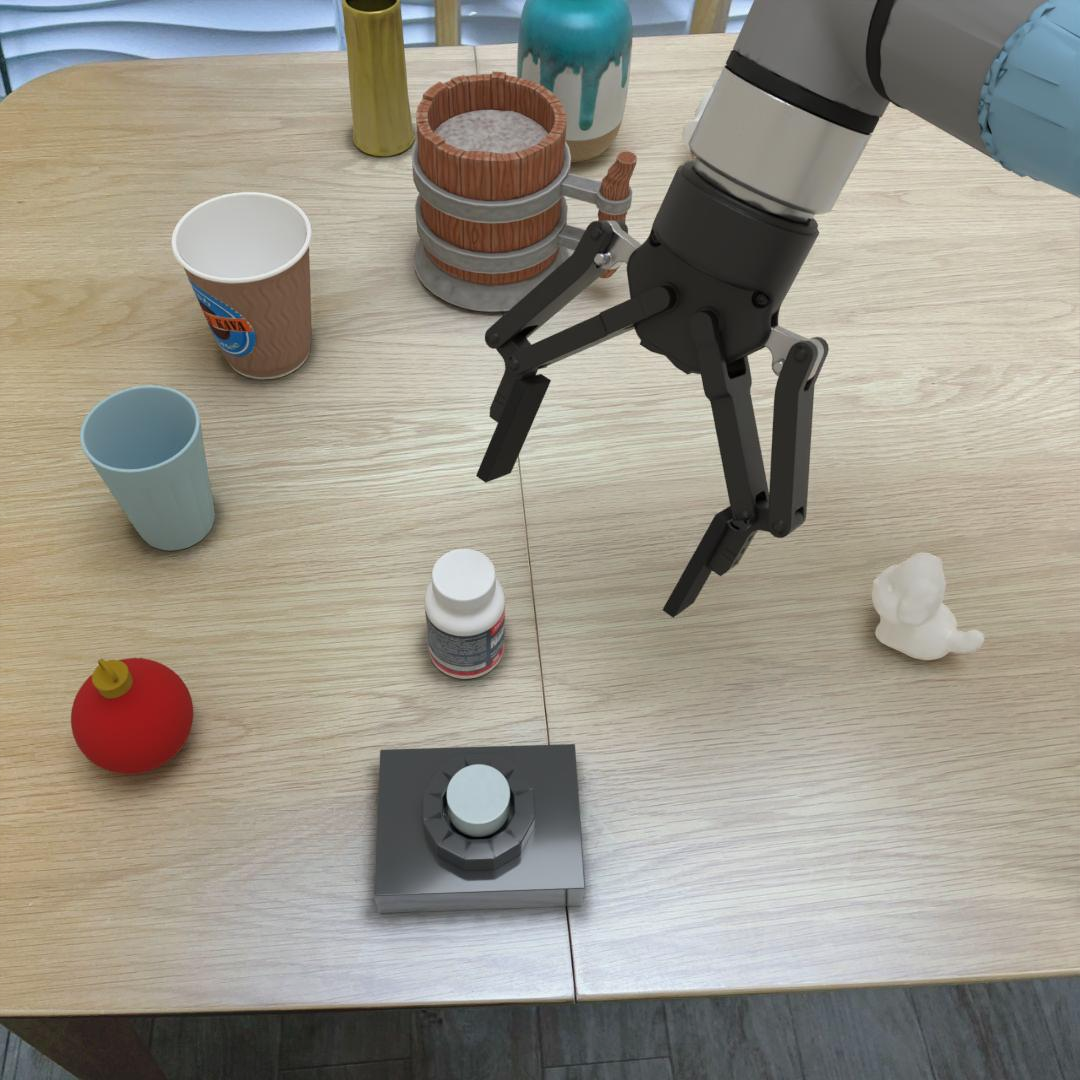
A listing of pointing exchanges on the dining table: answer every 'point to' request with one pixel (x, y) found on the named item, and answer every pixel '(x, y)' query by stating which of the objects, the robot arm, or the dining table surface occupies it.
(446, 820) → the push button box
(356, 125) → the vase
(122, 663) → the christmas ornament
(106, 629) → the dining table surface
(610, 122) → the vase
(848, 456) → the dining table surface
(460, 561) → the pill bottle
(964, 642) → the figurine
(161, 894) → the dining table surface
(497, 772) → the grey short cylinder
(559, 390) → the dining table surface
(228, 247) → the coffee cup
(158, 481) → the cup
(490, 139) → the mug
